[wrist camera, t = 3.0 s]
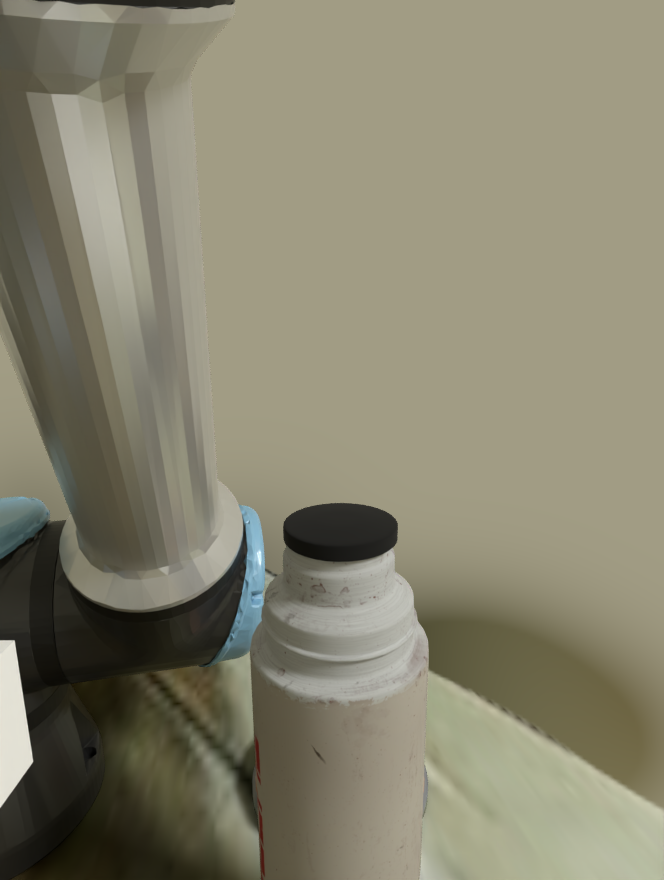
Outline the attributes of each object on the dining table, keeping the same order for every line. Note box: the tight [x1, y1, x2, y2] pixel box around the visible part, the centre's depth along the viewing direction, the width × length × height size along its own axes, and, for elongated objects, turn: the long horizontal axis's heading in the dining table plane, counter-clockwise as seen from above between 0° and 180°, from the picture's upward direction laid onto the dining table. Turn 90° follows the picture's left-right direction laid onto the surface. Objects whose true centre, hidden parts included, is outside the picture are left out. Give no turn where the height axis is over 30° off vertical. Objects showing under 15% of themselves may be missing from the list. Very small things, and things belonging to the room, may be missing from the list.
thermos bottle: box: [250, 503, 429, 880], centre depth 25 cm, size 8×8×28 cm
